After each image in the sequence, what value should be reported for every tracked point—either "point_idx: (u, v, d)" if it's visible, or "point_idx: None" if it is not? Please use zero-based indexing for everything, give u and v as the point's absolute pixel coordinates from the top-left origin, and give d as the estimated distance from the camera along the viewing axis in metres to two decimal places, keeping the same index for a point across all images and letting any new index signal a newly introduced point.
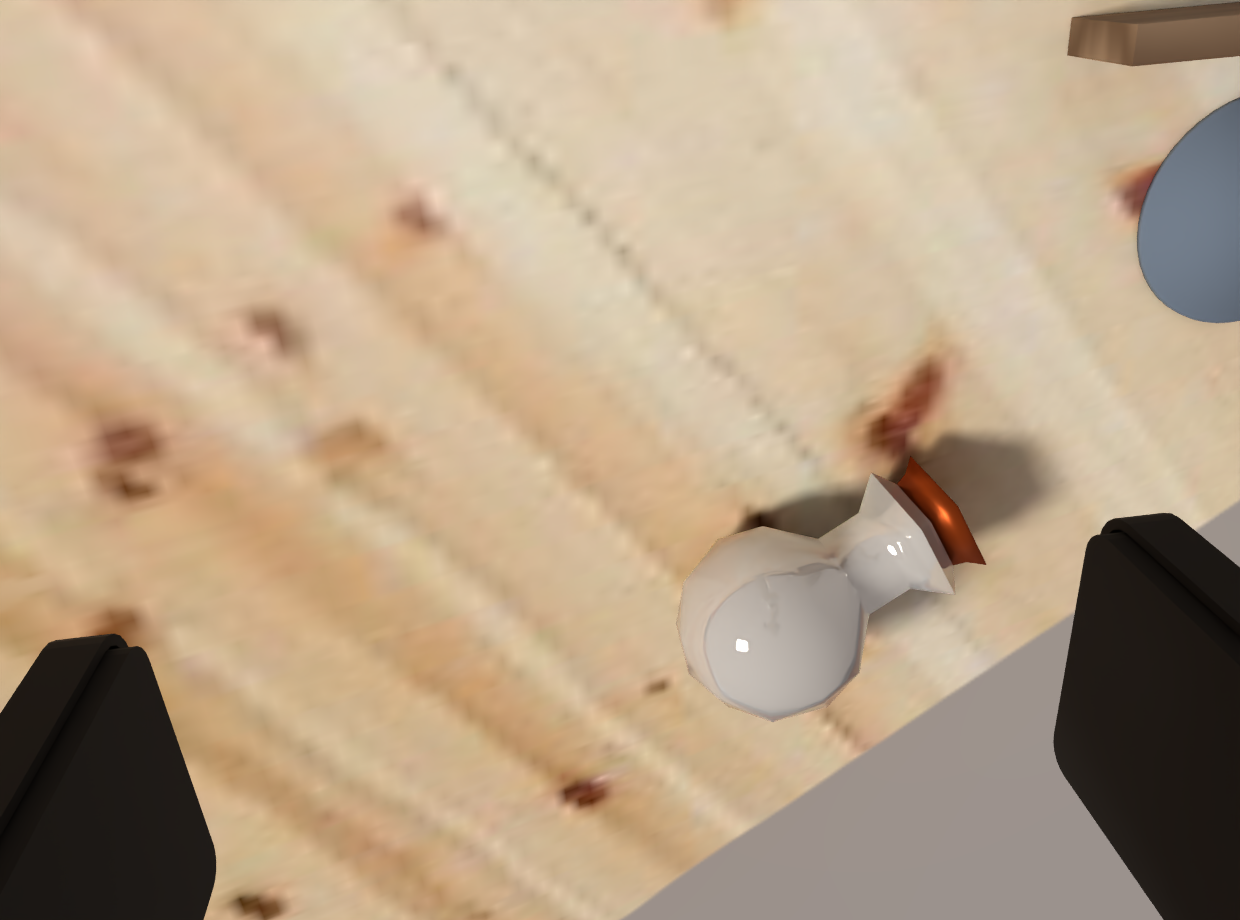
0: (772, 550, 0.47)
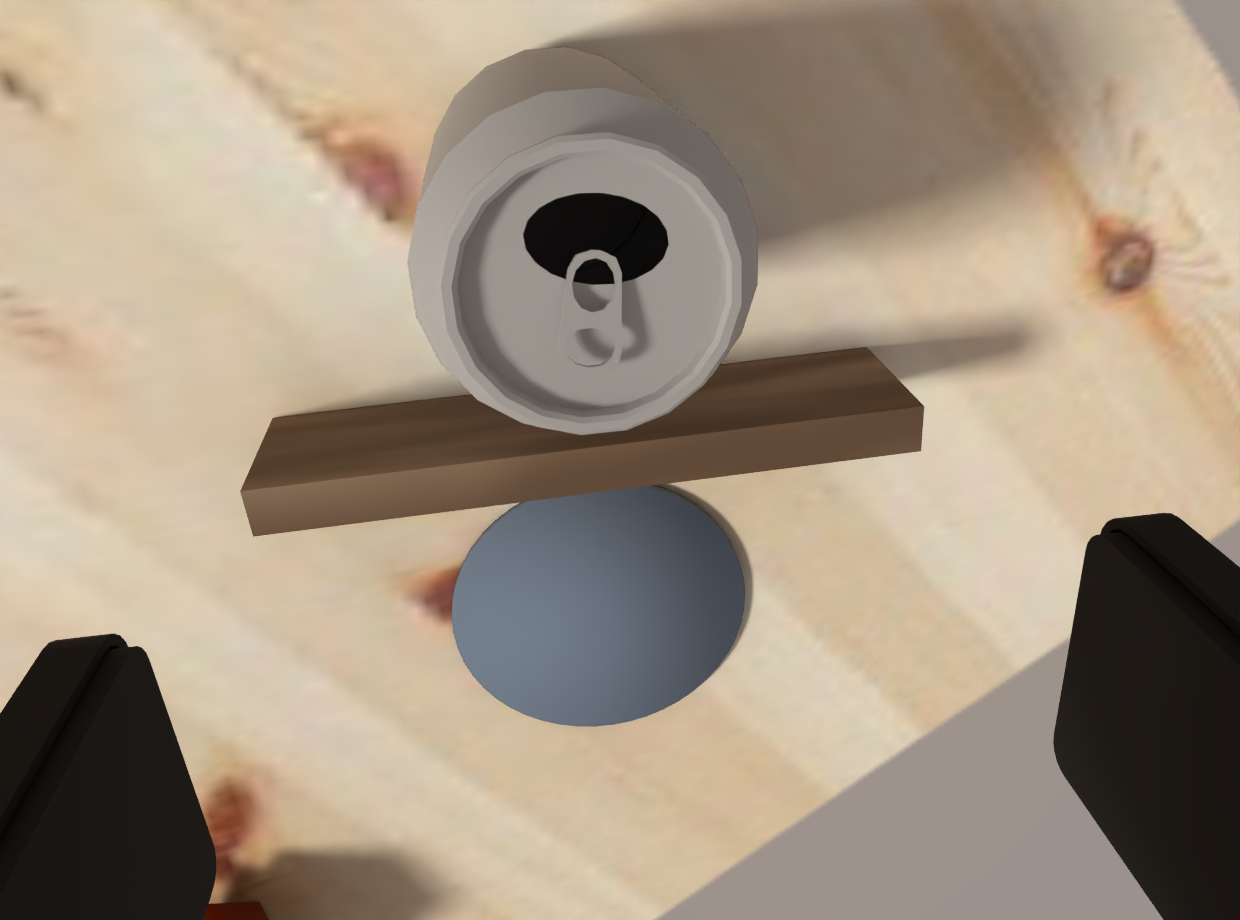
0: None
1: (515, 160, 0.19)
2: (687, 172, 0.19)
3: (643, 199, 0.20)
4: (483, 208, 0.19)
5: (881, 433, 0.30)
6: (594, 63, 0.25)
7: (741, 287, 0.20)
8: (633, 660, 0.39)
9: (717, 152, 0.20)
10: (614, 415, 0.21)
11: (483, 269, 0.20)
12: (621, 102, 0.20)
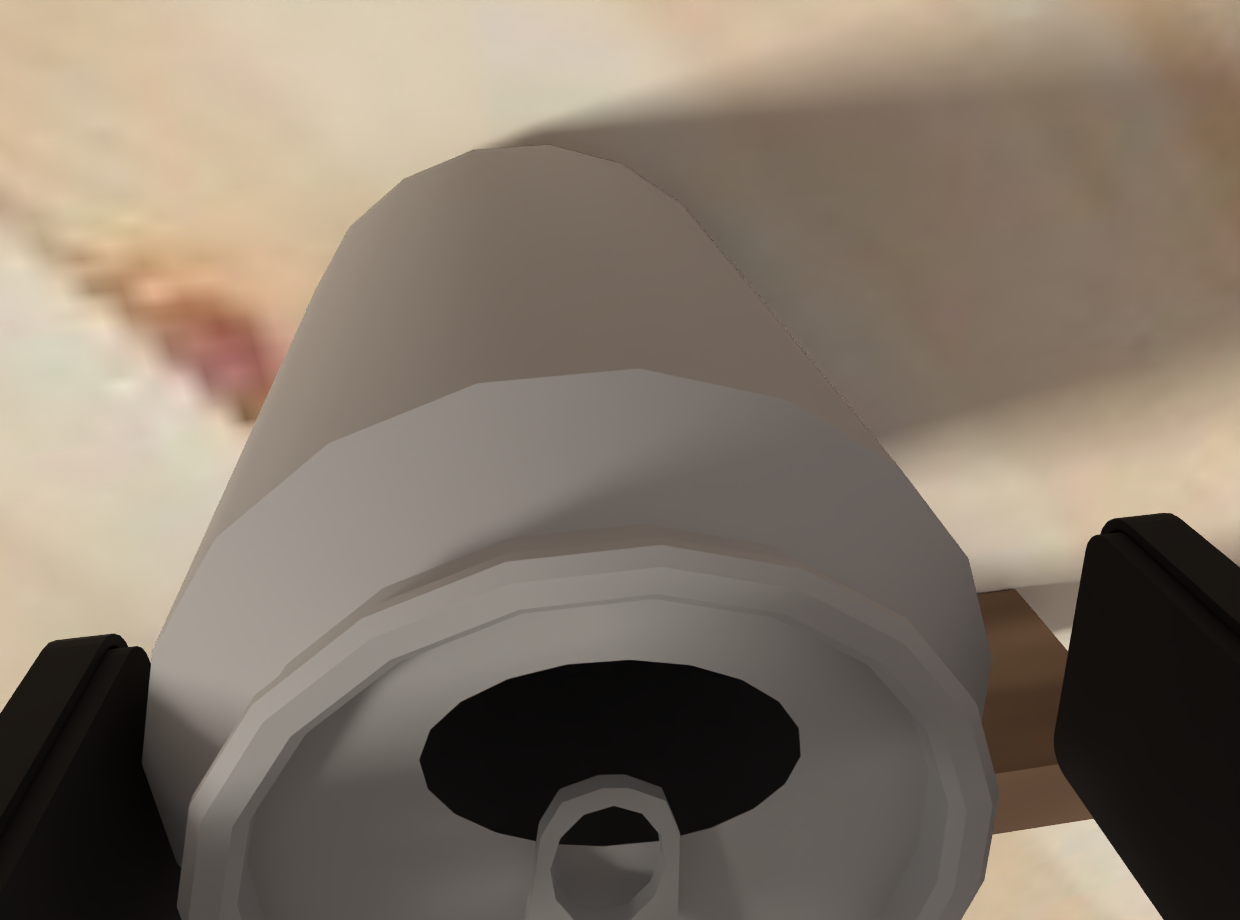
0: None
1: (382, 631, 0.06)
2: (877, 632, 0.07)
3: (743, 668, 0.07)
4: (295, 742, 0.07)
5: None
6: (602, 201, 0.13)
7: (983, 859, 0.08)
8: None
9: (921, 504, 0.08)
10: None
11: (316, 836, 0.08)
12: (684, 411, 0.07)
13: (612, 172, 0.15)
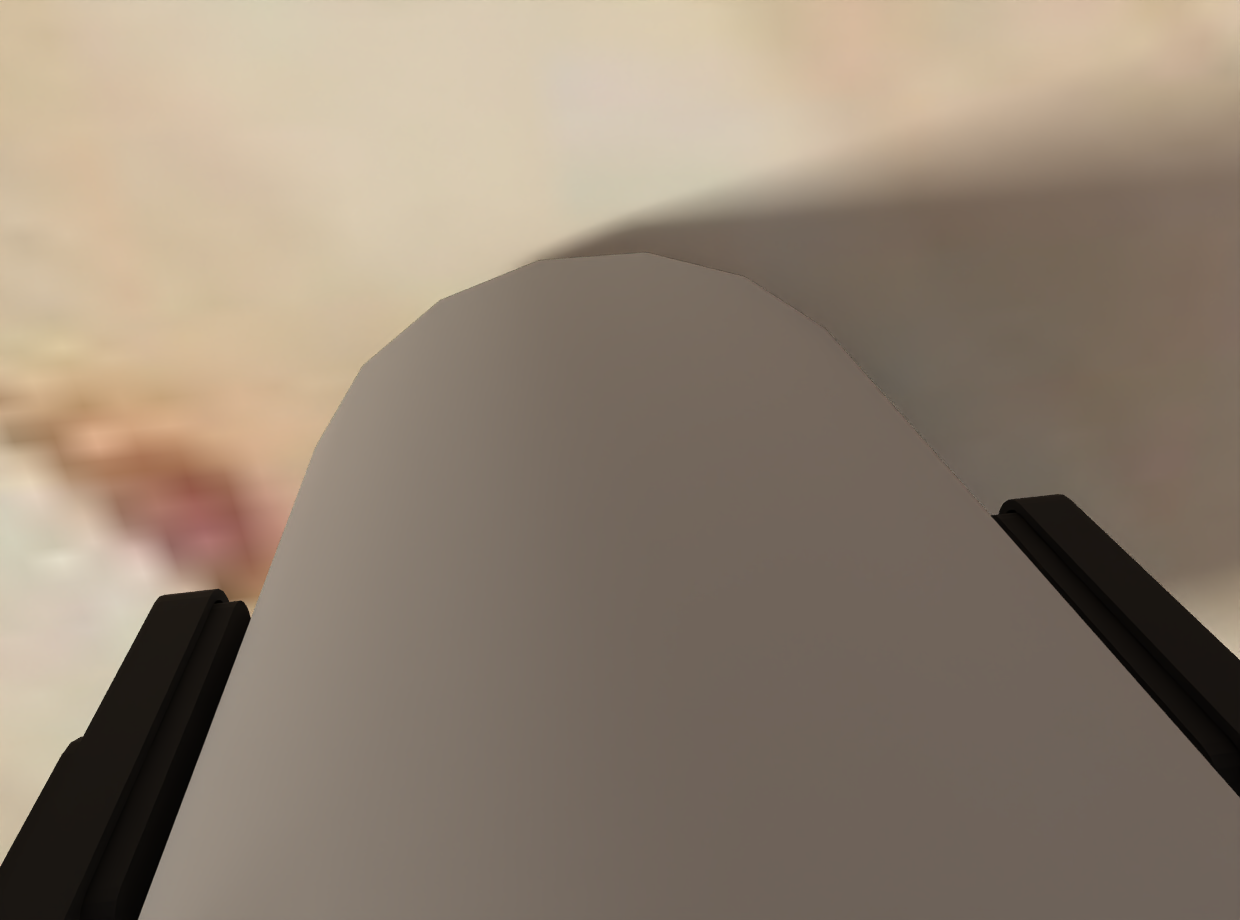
0: None
1: None
2: None
3: None
4: None
5: None
6: (755, 378, 0.08)
7: None
8: None
9: None
10: None
11: None
12: None
13: (743, 300, 0.10)
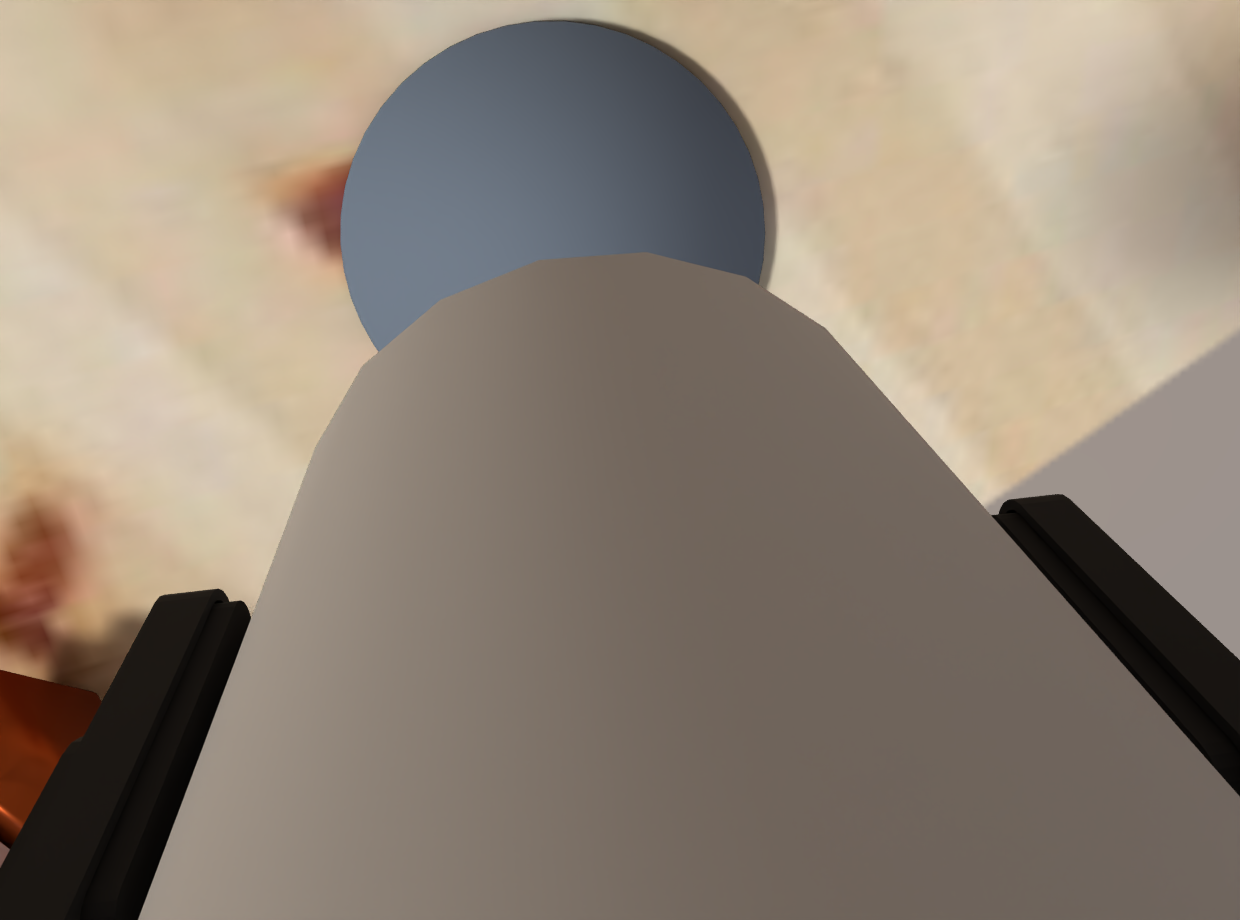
0: None
1: None
2: None
3: None
4: None
5: None
6: (755, 378, 0.08)
7: None
8: None
9: None
10: None
11: None
12: None
13: (743, 300, 0.10)
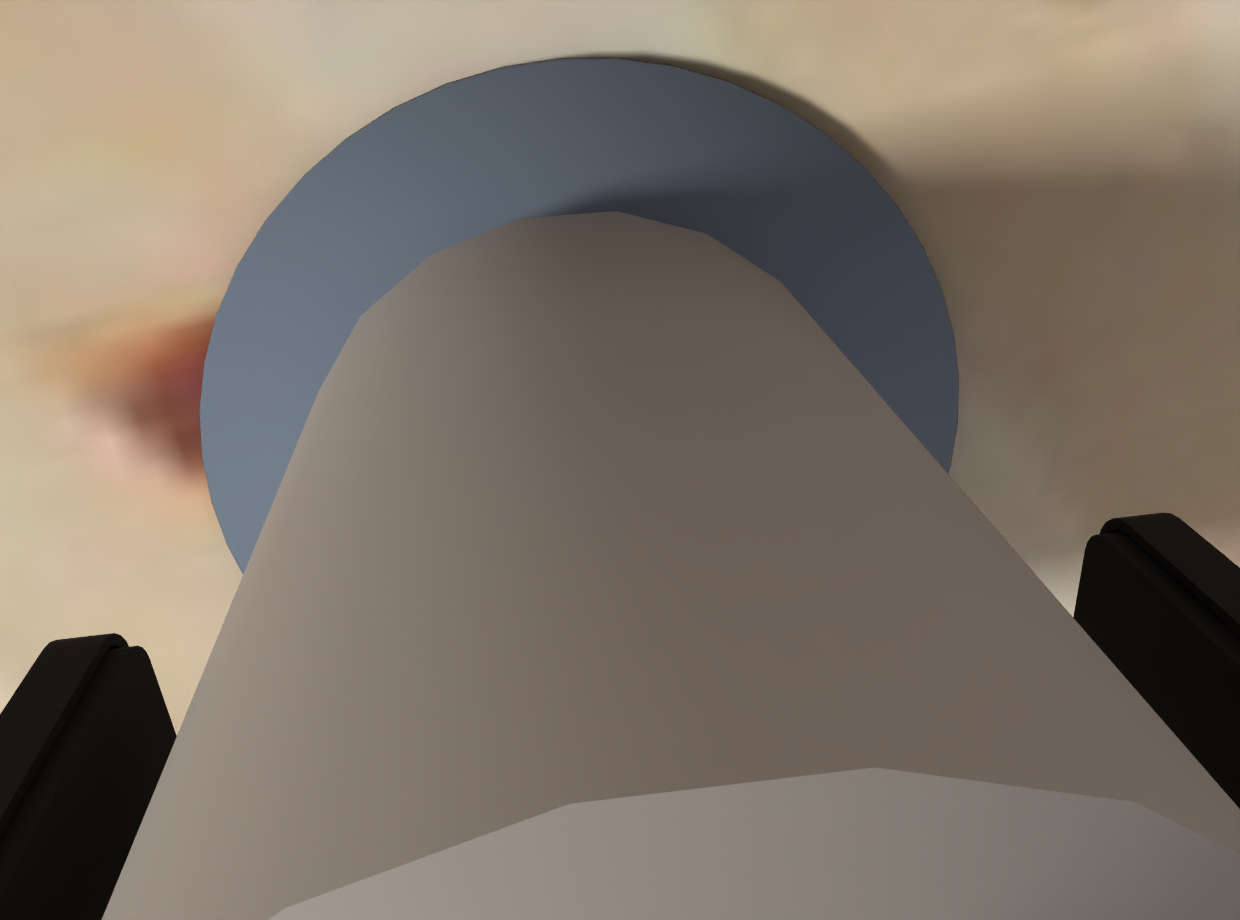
0: None
1: None
2: None
3: None
4: None
5: None
6: (701, 307, 0.09)
7: None
8: None
9: None
10: None
11: None
12: (963, 853, 0.04)
13: (701, 251, 0.11)
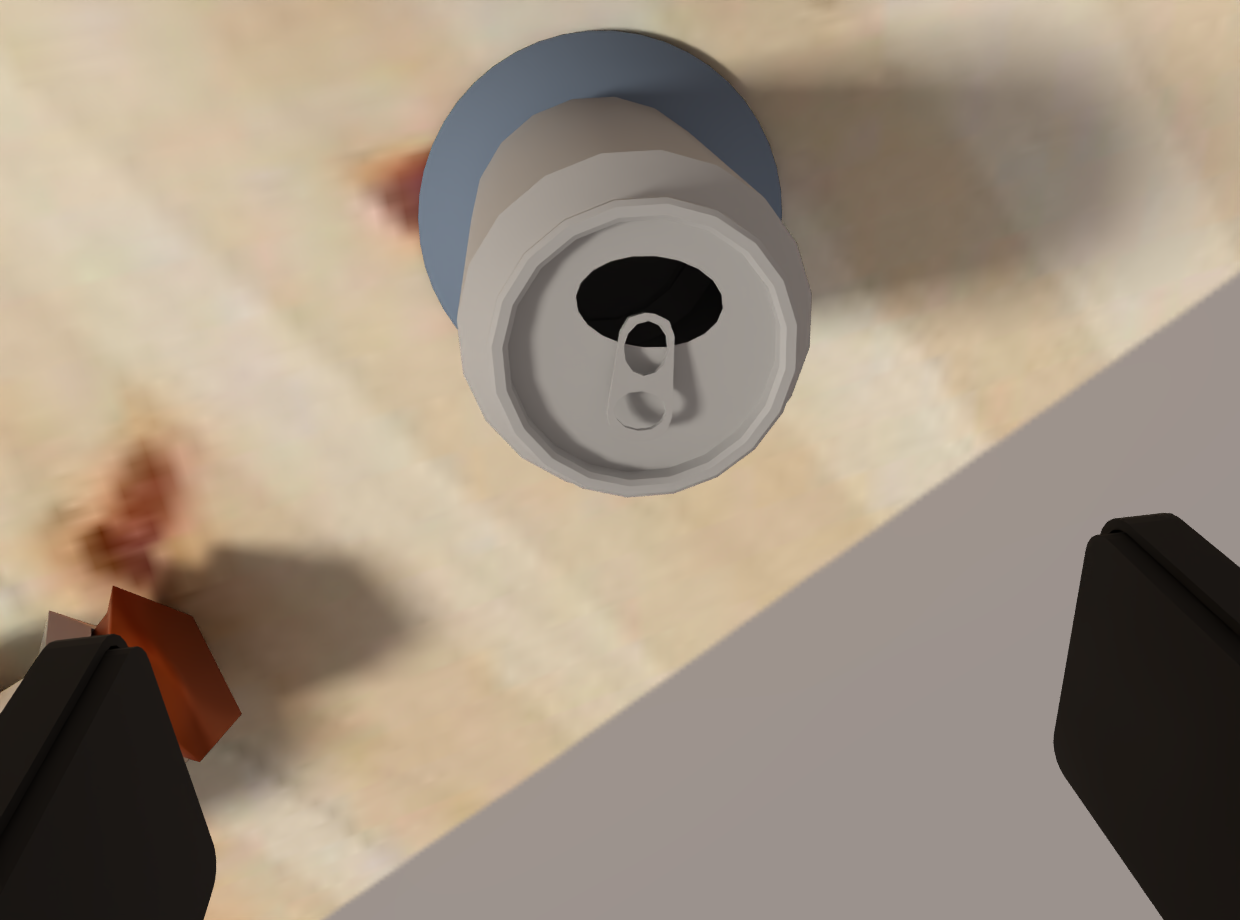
0: None
1: (571, 223, 0.18)
2: (745, 238, 0.19)
3: (699, 263, 0.19)
4: (537, 270, 0.19)
5: None
6: (644, 116, 0.25)
7: (795, 353, 0.20)
8: None
9: (774, 215, 0.20)
10: (661, 478, 0.21)
11: (534, 330, 0.20)
12: (677, 165, 0.19)
13: (649, 110, 0.27)
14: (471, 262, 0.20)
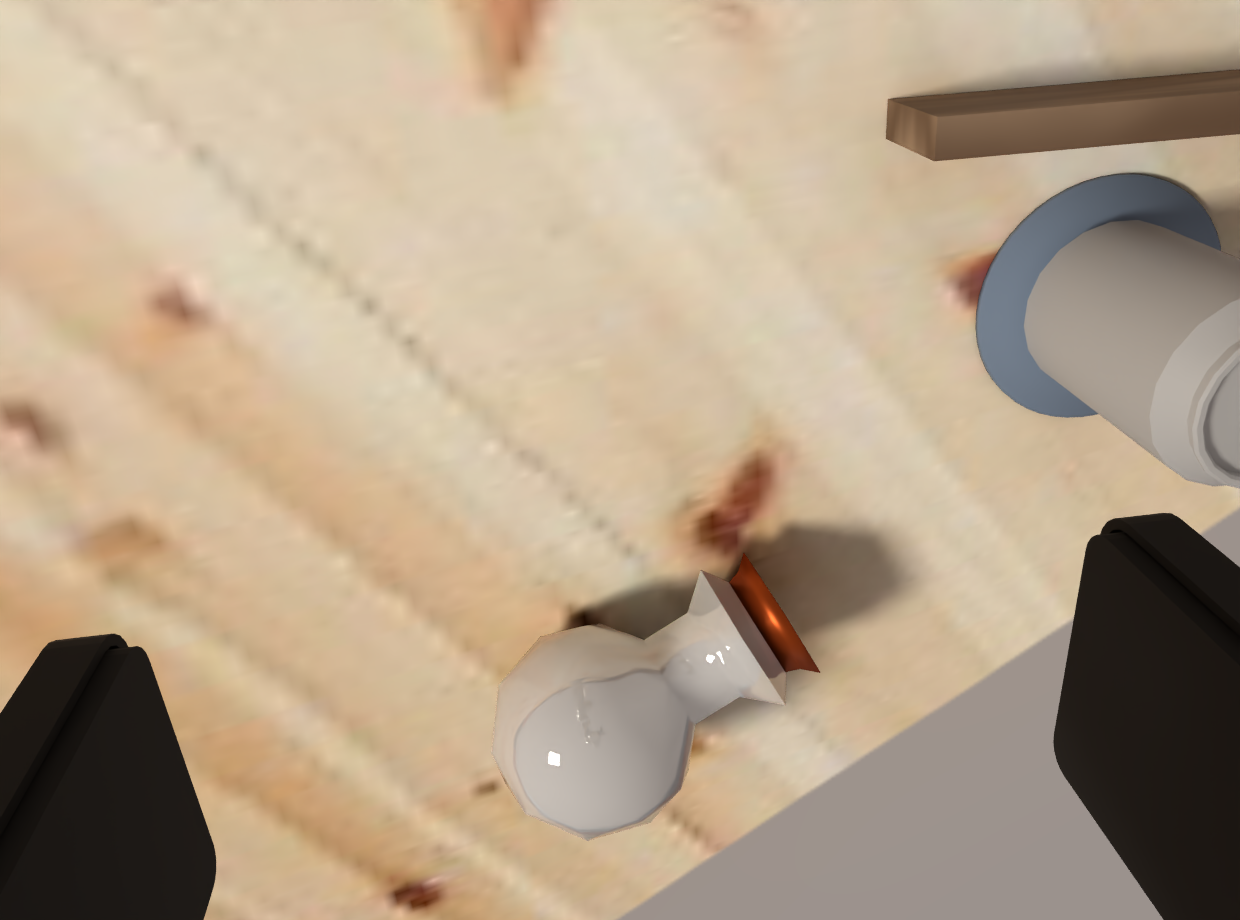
0: (585, 657, 0.43)
1: None
2: None
3: None
4: None
5: None
6: (1198, 243, 0.38)
7: None
8: None
9: None
10: None
11: (1218, 392, 0.33)
12: None
13: (1172, 231, 0.41)
14: (1175, 351, 0.34)
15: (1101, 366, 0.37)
